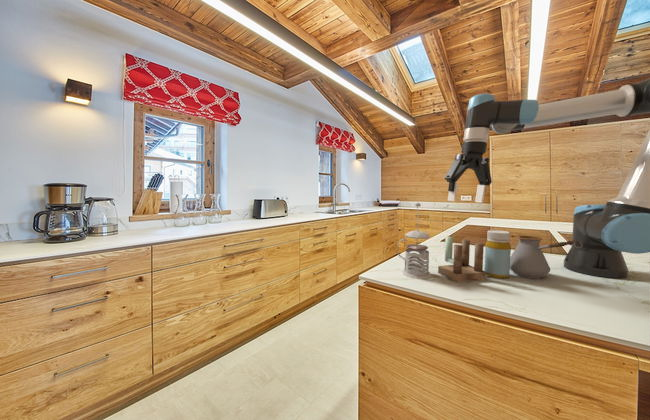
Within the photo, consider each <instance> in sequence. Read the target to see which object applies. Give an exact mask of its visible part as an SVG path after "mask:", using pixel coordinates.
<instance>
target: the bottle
mask: <svg viewBox="0 0 650 420" xmlns="http://www.w3.org/2000/svg"><path fill="white" fill-rule="evenodd" d="M486 234H487V235H486V237H487V239H486V243H485V245H484V263H483V267H484V268H483V271H485V272H486V276H488V277H490V278H495V279H507V278H509V277H510V271H511V270H510V257H511V255H512V252H511V251H512V250H511V249H512V246H511V243H510V241H511V240H510V239H511V233H510V231H507V230H506V231H505V230H496V229H491V230H490V229H489V230H487V233H486Z"/></svg>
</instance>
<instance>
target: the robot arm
mask: <svg viewBox="0 0 650 420" xmlns="http://www.w3.org/2000/svg"><path fill="white" fill-rule="evenodd" d="M468 101H469V102H468V106H467V111H466V115H465V116H466V118H465V123H464V133H463V139H462V141H463V143H462V145H461V153H456V154H455V156H454V158H453V162H452V164H451V166H450V167H449V169H448V172H446V174H445V176H444V180H445V181H446V182H447V183H448V189H447V191H448V196H447V201H448V202H449V201H450V202H456V201H457V200H456V199H457V193H458V187H459V182H458V181H459V179H460V178H461V177H462V176H463V174H464V173H465V172H466V171H467V170H468V169H470V170H473V171H474V174H475V176H476V179H477V181H478V183H479V184H477V187H476V194H475V199H474V203H480V204H482V203H484V199H485V193H486V189H487V186H490V185H491V184H492V182H493V181H492V180H493V179H492V176H491V170H490V163H489V162H490V158H489V157H483V155H484V154H486V152H487V147H488V142H487V141H489V135H490V130H491V129H490V128H492V131H493V132H495V134H500V135H503V134H507V133H509V132H513V131H518V130H524V129H530V128H536V127H543V126H550V125H556V124H563V123H569V122H575V121H581V120H587V119H595V118H601V117H608V116H614V115H616V116H618V117H621V118H622V117H628V116H635V115H645V114H650V77H648V78H647V79H644V80H641V81H638V82H635V83H630V84H625V85H622V86H620V87H619V88H618V89H616V90H609V91H604V92H601V93H600V92H599V93H595V94H594V93H593V94H588V95H584V96H577V97H573V98H568V99H563V100H562V99H561V100H557V101H552V102H547V103H541V104H539V101H538V100H536V99H525V98H524V99H515V100H514V99H513V100H496V99H495V95H494V94H492V93H480V94H475V95H473V96H472V97H471V98H470V99H469V100H468ZM572 220H573V221H572V238H571V241H575V240H576V241H579V242H581V243H582V247H581V243H579V242H578V243H576V244H575V246H576V247H575V246H574V244H572V245H571V247H570V248H569V250H568V252H567V254H566V256H565V257H564V259H563V267H564V268H565V269H568V270H570V271H573V272H576V273H580V274H583V275H589V276H595V277H601V278H614V279H621V278H623V279H624V278H627V277H628V276H629V268H628V266H627V263H626V261H625V260H626V259H625V257H624V255H623V253H627V254H636V255H637V254H638V255H639V254H648V253H650V129H649V130H648V132H647V134H646V136H645V138H644V141H643V143H642V144H641V147H640V148H639V150H638V153H637V155H636V158H635V159H634V162H633V164H632V165H631V167H630V169H629V173H627V176H626V178H625V180H624V183H623V185H622V187H621V189H620V190H619V192H618V195H617V196H616V197H614V198H612V199H608V200H607V201H606V204H584V205H583V204H582V205H578V206H575V208H574V213H573V219H572ZM577 247H581V248H577Z"/></svg>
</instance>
